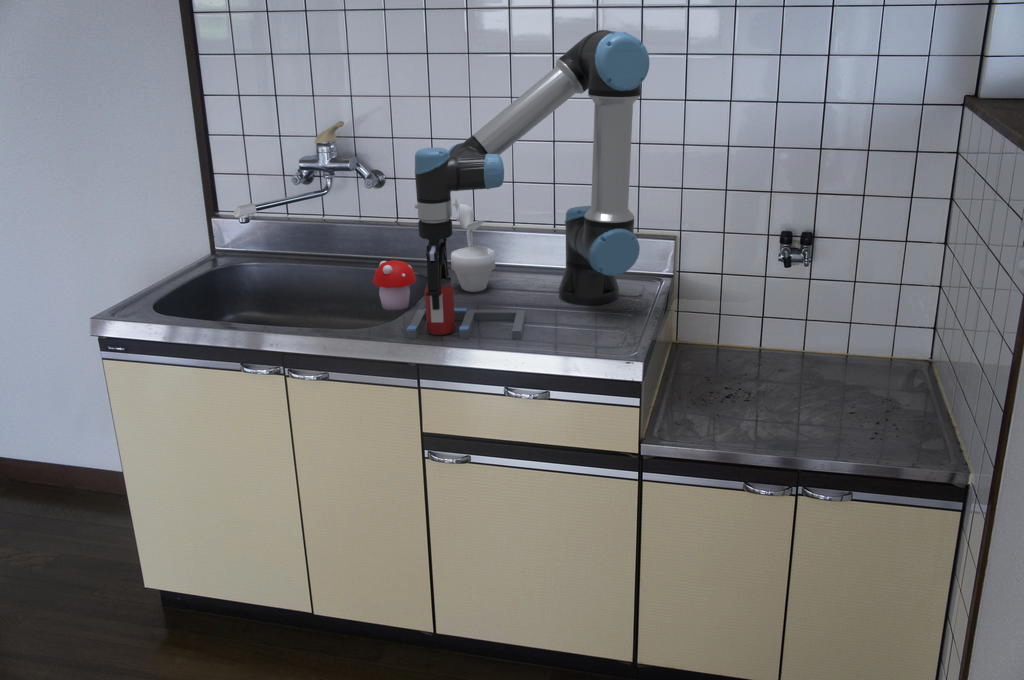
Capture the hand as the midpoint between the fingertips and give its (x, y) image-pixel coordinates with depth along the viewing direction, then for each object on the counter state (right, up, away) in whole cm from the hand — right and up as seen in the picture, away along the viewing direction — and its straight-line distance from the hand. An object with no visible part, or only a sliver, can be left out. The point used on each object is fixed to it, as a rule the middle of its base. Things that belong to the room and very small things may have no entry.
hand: (440, 315), depth 224 cm
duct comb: (+6, -3, +3) cm, 8 cm away
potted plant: (+7, +7, +30) cm, 32 cm away
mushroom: (-12, +3, +19) cm, 23 cm away
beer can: (0, -4, +1) cm, 4 cm away
